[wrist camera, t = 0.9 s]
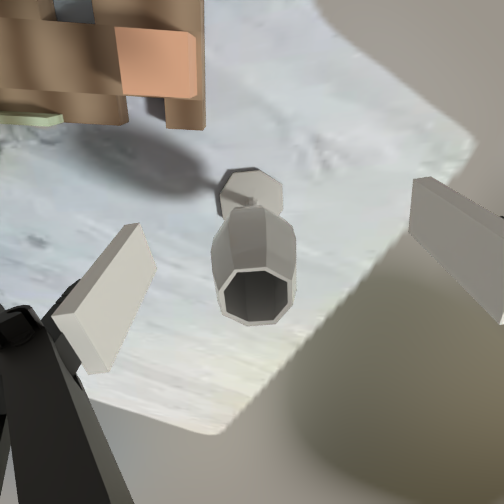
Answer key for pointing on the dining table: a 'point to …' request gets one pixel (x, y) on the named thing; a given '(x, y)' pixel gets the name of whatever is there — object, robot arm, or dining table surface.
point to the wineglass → (254, 251)
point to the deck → (86, 62)
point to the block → (157, 62)
